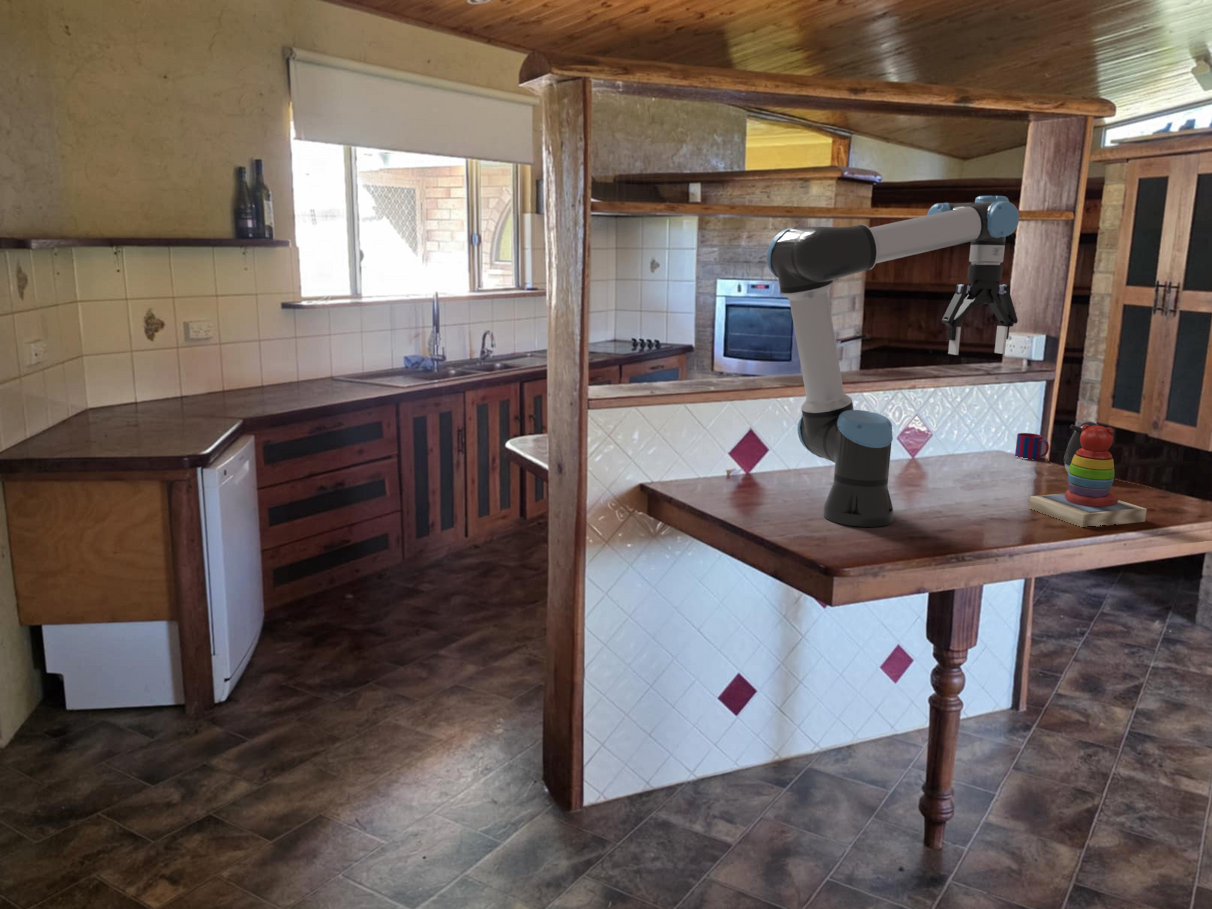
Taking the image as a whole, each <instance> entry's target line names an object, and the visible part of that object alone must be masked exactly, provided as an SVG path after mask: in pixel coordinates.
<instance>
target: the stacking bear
mask: <svg viewBox="0 0 1212 909" xmlns="http://www.w3.org/2000/svg"><path fill="white" fill-rule="evenodd" d="M1081 429H1082V433H1081V435H1080V443H1081V446H1082V448H1080V449H1079V450H1077V451H1076V454H1075V455H1074V457H1073V459H1072V463H1071V464H1070V467H1069V473H1068V472H1067V475H1068V476H1067V479H1068V480H1067V481H1068V489H1067V490H1066V491H1065V492H1064V494H1065V499H1066V500H1068V501H1069V502H1072V503H1075V504H1079V505H1084V506H1093V507H1103V506H1111V505H1114V504H1116V503H1117V502H1118V500H1119V498H1118V496H1117V495H1115V494H1113V493H1110V490H1111V487H1112V486H1113V483H1114V480H1115V479H1114V478H1115V465H1114V464H1115V463H1114V462H1115V461H1114V458H1113V455H1112V453H1111V452H1110V451H1108V450H1110V448H1111V447H1112V445H1113V441H1114V433H1115V431H1114V429H1113V428H1112V427H1105V426H1102V425H1098V426H1089V425H1087V424H1086V425H1083V426H1082V428H1081Z"/></svg>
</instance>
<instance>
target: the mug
mask: <svg viewBox="0 0 1212 909" xmlns="http://www.w3.org/2000/svg"><path fill="white" fill-rule="evenodd" d="M1043 442H1044V444H1045V450H1044V453H1043V454H1041V451H1042V443H1043ZM1015 444H1016V445H1015V451H1014V454H1015V455H1014V457H1015V456H1018V457H1023V458H1028V459H1034V460H1033V461H1039V460H1040V459H1041V458H1043V457H1046V455H1047V454H1048V453H1049V449H1050V444H1049V442H1048V441H1047V440H1045V439H1043V435H1042V434H1037V433H1031V432H1030V433H1029V432H1018V433H1017V434H1016V442H1015Z"/></svg>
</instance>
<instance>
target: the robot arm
mask: <svg viewBox="0 0 1212 909" xmlns="http://www.w3.org/2000/svg"><path fill="white" fill-rule="evenodd" d="M1019 214H1020V213H1019V210H1018V207H1016V205H1015V204H1013V203H1012V202H1010V200H1009V198H1008V196H1003V195H979V196H977V197H975V200H974V202H961V203H955V202H954V203H952V202H943V203H942V202H941V203H940V202H939V203H938V202H937V203H934V204H933V205H932V206H931V207H930V208H929V210H928V211H927V214H926V215H922V216H918V217H914V218H909V219H903V220H899V221H896V222H891V223H886V224H882V225H876V226H872V227H869V226H868V225H867V224H858V225H853V226H802V225H799V226H793V227H789V228H785V229H783V230H781V231H780V232H779V233H777V234H776V235H775V236H774V237H773V239H772V240H771V242H770V243H769V246H768V248H767V251H766V261H767V262H766V263H767V266H768V268H769V270H770V272H771V273H772V275H774V277H776V278H777V279H778V282H779V283H778V284H779V288H780V289H779V290H780V294H781V295H783V296H784V297H785V298H787V299H788V300H789V305H790V312H791V317H792V323H793V330H794V335H795V340H796V341H795V342H796V345H797V351H798V357H799V362H800V369H801V375H802V380H803V388H804V391H805V392H804V393H805V398H806V399H805V401H804V402H803V403H802V405H801V407H800V408H801V417H800V419H799V420H798V423H797V435H798V438H799V441H800V443H801V444H802V446H803V447H804V448H805V449H806V450H807V451H809V452H810V453H811V454H812V455H815V456H816V457H818V458H821V459H825V460H826V461H830V462H832V463H834V471H833V472H834V474H833V476H834V477H833V482H832V483H833V484H832V485H831V488H830V490H829V493H828V495H827V498H826V500H825V502H824V504H823V517H824V518H825V519H827V520H828V521H831V522H834V523H838V524H840V525H844V526H845V525H846V526H852V527H853V526H854V527H860V528H861V527H865V528H867V527H868V528H873V527H874V528H875V527H883V526H888V525H891V524H892V523H893V521H894V508H893V502H892V499H891V495H890V491H889V475H890V474H889V473H890V461H891V451H892V442H893V439H894V438H893V437H894V436H893V424H892V422H891V420H890V419H889V418H888V417H887V416H884V415H883V414H881V413H878V412H874V411H873V412H871V411H868V410H864V409H862V410H861V409H854V404H853V399H852V397H851V396H849V395H847V394H846V393H845V392H844V391H845V390H844V385H843V379H842V372H841V367H840V360H839V353H838V348H837V341H836V336H835V329H834V324H833V317H832V311H831V305H830V299H829V290H830V289H831V287H832V286H833V284H834V281H835V280H837V279H840V278H844V277H847V276H851V275H855V274H859V273H862V272H866V271H870V270H872V269H874V267H875V266H876V264H880V263H883V262H887V261H892V260H897V259H901V258H906V257H909V256H913V255H919V254H922V253H927V252H930V251H935V250H940V249H943V248H948V247H952V246H957V245H962V244H965V243H970V248H969V256H968V257H969V258H968V262H969V263H970V264H969V265H968V269H967V279H968V285H967V284H965V283H963V284H962V283H961V284H960V283H957V284H956V287H955V291H954V292H955V293H954V295H953V297H952V298H951V301H950V303H949V305H948V306H947V309H946V311H945V312H944V314H943V315H942V316H943V317H942V319H941V322H940V323H942V324H944V325H945V326H947V327H948V330H947V340H949V342H948V352H947V354H948V355H954V356H959V351H960V350H959V349H960V342H961V331H962V327H961V326H959V325H960V324H961V323H962V322H963V320H964V319H965V317H966V316H967V315H968V313H969V312H970V311H971V309H973V307H974V306H976V305H977V304H980V305H983V304H986V305H988V306H989V307H990V309H991V310H992V312H993V314H994V316H995V317H996V319H997V320H998V323H999V324H1000V325H997V326H996V334H995V344H994V345H995V346H994V353H995V354H1001V355H1004V354H1006V346H1007V340H1008V339H1009V335H1010V327H1013V326H1014V325H1016V324H1018V321H1019V320H1018V316H1017V312H1016V309H1015V306H1014V302H1013V300H1012V296H1011V285H1010V284H1001V283H1000V281H1001V280H1002V278H1003V277H1002V276H1003V267H1004V266H1002V265H1001V263H1003V262H1004V257H1005V249H1006V248H1005V247H1006V239H1007V237H1009V236H1010V235H1012V234H1013V233H1014V232H1015V231H1016V229H1017V228H1018V225H1019V221H1020V215H1019ZM966 295H967V296H966ZM998 295H999V296H998Z"/></svg>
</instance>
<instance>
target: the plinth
mask: <svg viewBox="0 0 1212 909" xmlns="http://www.w3.org/2000/svg"><path fill="white" fill-rule="evenodd" d="M1028 509H1029V510H1031V509H1032V510H1031V511H1034V510H1035V511H1034V512H1037V511H1038V512H1037V513H1039V512H1040V514H1042V513H1043V515H1045V514H1046V515H1045V516H1048V515H1049V516H1048V517H1050V516H1051V518H1053V517H1054V519H1056V518H1057V519H1056V520H1059V519H1060V520H1059V521H1062V520H1063V522H1064V521H1065V523H1067V522H1068V524H1070V523H1071V524H1070V525H1073V524H1074V526H1075V525H1077V526H1076V527H1078V526H1080V527H1079V528H1081V527H1086V528H1088V527H1087V526H1096V527H1103V526H1102V525H1106V526H1115V525H1114V524H1116V525H1124V524H1134V523H1135V524H1137V523H1145V522H1146V516H1147V508H1145V507H1142V506H1138V505H1136V504H1133V503H1129V502H1126V501H1122V500H1120V499H1118V502H1117V503H1116V504H1114V505H1111V506H1103V507H1093V506H1084V505H1079V504H1075V503H1072V502H1069V501H1068V500H1066V499H1065V493H1056V494H1055V493H1054V494H1043V495H1031V496H1030V497H1029V504H1028ZM1100 525H1101V526H1100Z"/></svg>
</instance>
